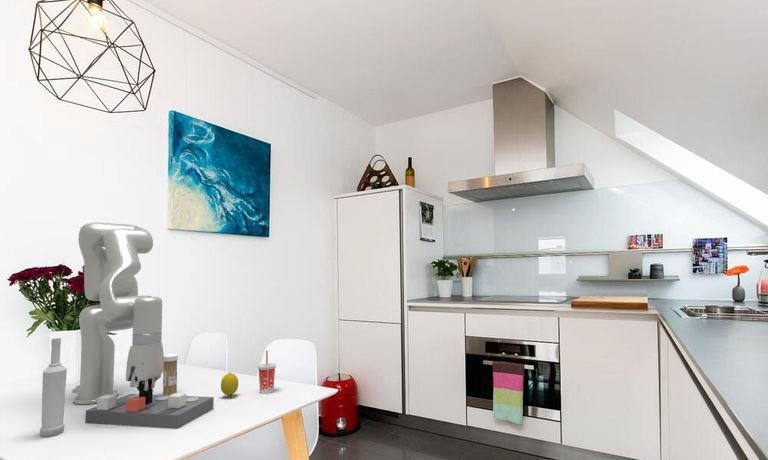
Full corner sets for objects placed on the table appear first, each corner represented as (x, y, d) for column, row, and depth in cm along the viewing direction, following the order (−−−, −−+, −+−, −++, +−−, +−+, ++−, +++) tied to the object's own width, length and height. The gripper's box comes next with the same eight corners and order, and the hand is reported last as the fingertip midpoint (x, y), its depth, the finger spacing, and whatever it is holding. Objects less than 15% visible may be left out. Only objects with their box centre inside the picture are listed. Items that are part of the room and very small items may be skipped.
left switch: (96, 409, 119) (97, 397, 120) (105, 406, 122) (106, 394, 123) (107, 410, 119) (107, 398, 119) (116, 406, 122) (116, 395, 122)
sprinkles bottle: (175, 395, 144) (176, 355, 145) (160, 396, 143) (161, 356, 144) (178, 391, 148) (179, 353, 149) (164, 393, 147) (165, 354, 148)
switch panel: (85, 423, 119) (85, 409, 120) (130, 404, 135) (130, 392, 135) (177, 428, 113) (178, 413, 114) (213, 408, 129) (213, 396, 129)
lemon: (232, 399, 138) (232, 374, 138) (217, 399, 139) (217, 374, 139) (241, 394, 143) (241, 370, 144) (226, 394, 144) (226, 370, 145)
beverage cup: (274, 388, 150) (274, 348, 151) (276, 392, 144) (276, 351, 145) (257, 390, 147) (257, 349, 149) (258, 395, 142) (258, 353, 143)
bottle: (48, 430, 114) (52, 337, 116) (68, 429, 115) (72, 336, 117) (34, 438, 109) (39, 340, 111) (55, 437, 109) (59, 339, 112)
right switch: (168, 407, 119) (168, 396, 120) (175, 404, 122) (175, 393, 122) (178, 408, 119) (179, 396, 119) (185, 404, 121) (186, 393, 122)
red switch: (126, 411, 117) (126, 399, 117) (134, 407, 120) (134, 396, 120) (136, 411, 116) (137, 400, 117) (145, 408, 119) (145, 396, 120)
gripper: (154, 335, 131) (153, 395, 130) (115, 343, 117) (113, 411, 115) (175, 335, 130) (174, 396, 128) (138, 344, 115) (136, 412, 114)
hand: (145, 403), depth 122 cm, fingers closed
